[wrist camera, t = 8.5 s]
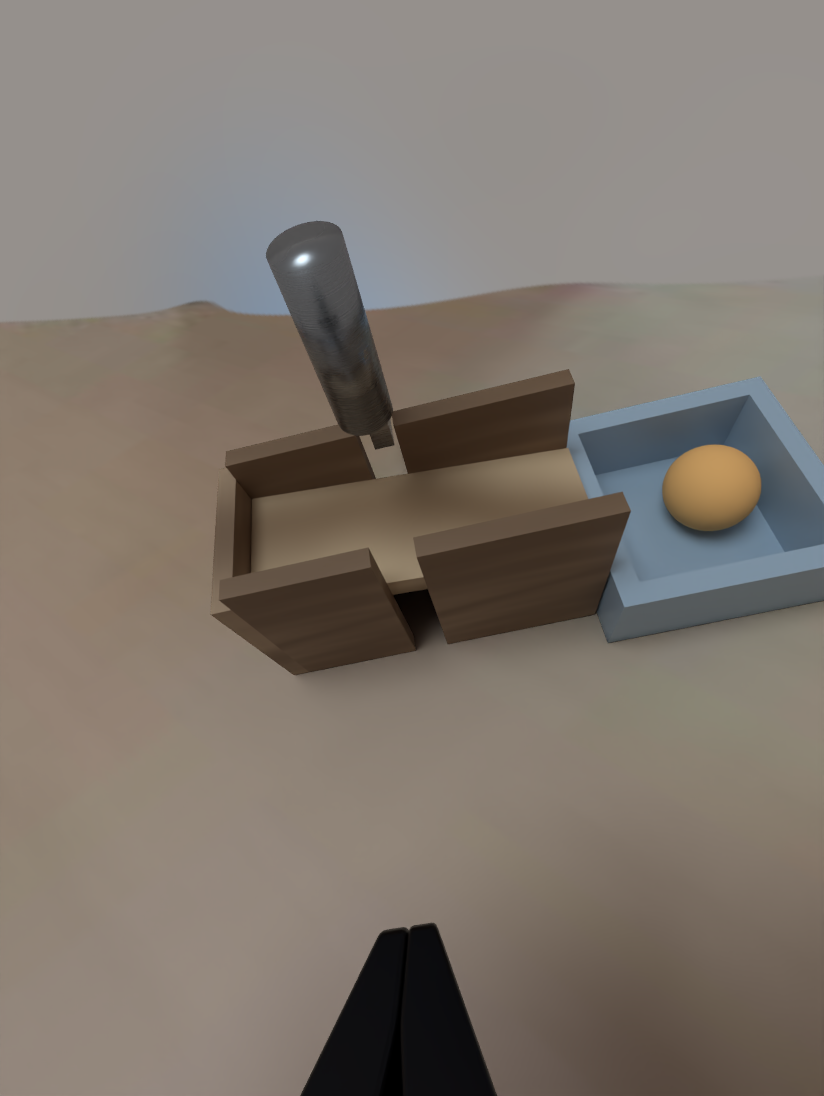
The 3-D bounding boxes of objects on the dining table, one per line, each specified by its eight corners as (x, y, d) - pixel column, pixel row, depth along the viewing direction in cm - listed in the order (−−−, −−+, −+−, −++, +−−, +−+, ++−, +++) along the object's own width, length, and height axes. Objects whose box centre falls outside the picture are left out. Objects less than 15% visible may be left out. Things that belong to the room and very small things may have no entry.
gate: (417, 500, 19) (346, 257, 11) (370, 511, 19) (266, 278, 11) (392, 364, 23) (324, 109, 15) (353, 374, 23) (265, 126, 15)
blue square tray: (826, 599, 20) (886, 554, 17) (607, 642, 21) (624, 607, 18) (728, 437, 25) (760, 376, 21) (548, 477, 25) (553, 424, 22)
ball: (734, 537, 19) (718, 554, 22) (793, 457, 19) (768, 486, 22) (646, 489, 20) (643, 512, 23) (700, 415, 20) (689, 448, 23)
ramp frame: (596, 613, 22) (633, 510, 15) (293, 675, 23) (196, 604, 16) (555, 499, 25) (570, 368, 18) (290, 557, 26) (207, 455, 19)
